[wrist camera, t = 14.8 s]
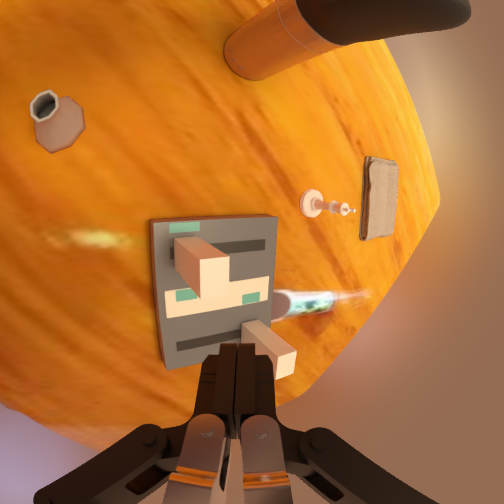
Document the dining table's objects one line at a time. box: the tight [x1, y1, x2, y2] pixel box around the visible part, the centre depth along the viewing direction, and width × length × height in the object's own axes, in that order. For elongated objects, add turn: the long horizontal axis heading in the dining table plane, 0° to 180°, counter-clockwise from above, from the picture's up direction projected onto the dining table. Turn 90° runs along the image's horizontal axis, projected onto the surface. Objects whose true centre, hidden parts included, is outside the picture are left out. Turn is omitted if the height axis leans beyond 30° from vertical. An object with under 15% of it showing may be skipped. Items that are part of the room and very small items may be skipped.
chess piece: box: [300, 189, 356, 217], centre depth 43 cm, size 5×5×10 cm
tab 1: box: [174, 236, 230, 299], centre depth 31 cm, size 3×4×10 cm
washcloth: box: [360, 157, 399, 241], centre depth 56 cm, size 12×18×3 cm, turn 1°
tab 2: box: [241, 319, 297, 380], centre depth 39 cm, size 3×4×10 cm
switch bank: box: [150, 214, 278, 370], centre depth 41 cm, size 18×22×3 cm
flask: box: [29, 89, 85, 153], centre depth 21 cm, size 7×7×10 cm
